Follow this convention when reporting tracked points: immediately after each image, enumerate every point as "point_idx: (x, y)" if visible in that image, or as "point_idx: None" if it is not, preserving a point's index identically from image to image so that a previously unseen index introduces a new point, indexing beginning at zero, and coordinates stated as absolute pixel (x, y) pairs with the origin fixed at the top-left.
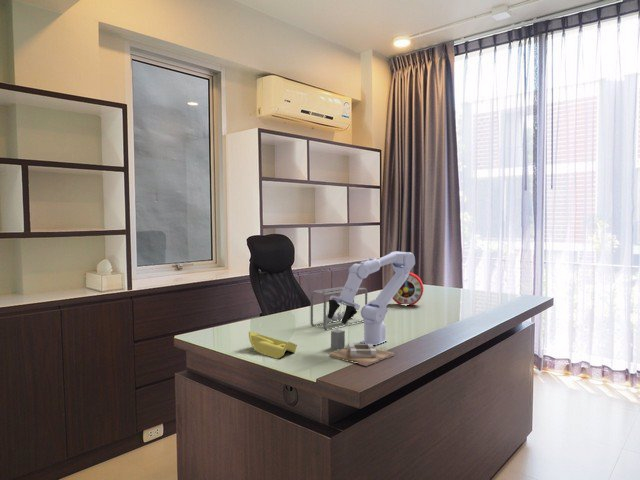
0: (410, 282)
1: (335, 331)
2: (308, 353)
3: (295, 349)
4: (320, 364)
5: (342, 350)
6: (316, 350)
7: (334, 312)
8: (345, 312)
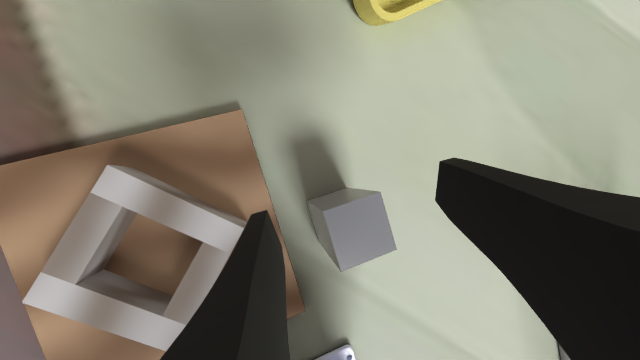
0: None
1: (359, 211)
2: (324, 61)
3: (361, 10)
4: (157, 10)
5: (254, 191)
6: (343, 113)
7: (497, 261)
8: (231, 315)
